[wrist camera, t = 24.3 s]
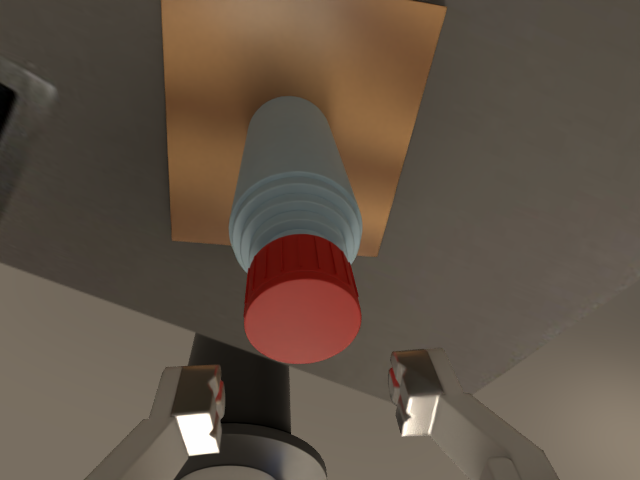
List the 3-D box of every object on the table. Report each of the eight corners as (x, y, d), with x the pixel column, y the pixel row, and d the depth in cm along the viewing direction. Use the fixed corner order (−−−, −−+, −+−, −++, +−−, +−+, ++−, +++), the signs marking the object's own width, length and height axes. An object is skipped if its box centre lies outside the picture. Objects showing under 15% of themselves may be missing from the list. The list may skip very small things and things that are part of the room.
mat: (375, 253, 37) (377, 257, 37) (173, 237, 34) (171, 240, 34) (444, 6, 27) (447, 6, 26) (160, -47, 24) (158, -48, 23)
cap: (340, 316, 17) (350, 367, 15) (245, 311, 17) (240, 363, 14) (359, 236, 15) (374, 281, 13) (250, 227, 14) (246, 273, 12)
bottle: (323, 181, 32) (369, 375, 16) (245, 172, 31) (211, 371, 15) (337, 101, 29) (410, 248, 13) (249, 89, 28) (212, 232, 12)
